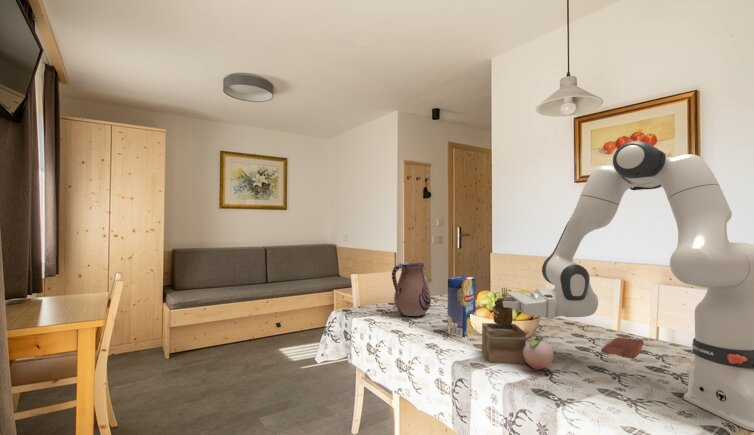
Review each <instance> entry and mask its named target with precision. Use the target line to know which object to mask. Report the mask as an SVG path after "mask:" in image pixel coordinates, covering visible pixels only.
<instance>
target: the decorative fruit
mask: <svg viewBox="0 0 754 435" xmlns="http://www.w3.org/2000/svg"><path fill="white" fill-rule="evenodd" d="M523 355H524V358H525V360H526V363H527V365H528V366H530V367H531V368H532V369H533V370H535V371H539V370H542V369H544V368H546V367H548V366H550V365H551V364H552V362H553V361H554V357H555V356H554V349H553V348H552V346H551V344H549V343H548V342H547V341H545V340H544V339H543V338H540V337H539V336H538V335H536V337H535V338H533V339H530V340H528V341H527V342H526V345H525V347H524V349H523Z"/></svg>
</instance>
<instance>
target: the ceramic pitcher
mask: <svg viewBox="0 0 754 435" xmlns="http://www.w3.org/2000/svg"><path fill="white" fill-rule="evenodd" d="M424 266H425V264H424V263H423V262H410V261H409V262H401V263H399V264H396V265H395V266H394V267H393V269H392V272H391V280H392V284H393V286H394V290H395V291H394V296H393V301H394V305H395V307H396V310H397V311H398V312H399V313H400V315H402V314H403V315H402V316H404V315H406V316H405V317H407V316H419V315H422V316H424V315H425V314H426V313H427V311H428V310H429V308H430V306H431V302H432V300H431V298H432V297H431V292H430V288H429V287H430V286H429V283H428V278H427V277H426V274H425V272H424ZM399 269H401V272H400V276H399V278H398V281H397V272H398V270H399ZM419 317H420V316H419Z"/></svg>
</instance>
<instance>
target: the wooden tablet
mask: <svg viewBox="0 0 754 435" xmlns="http://www.w3.org/2000/svg"><path fill="white" fill-rule="evenodd" d="M643 346H644V341H643V340H641V339H635V338H634V339H632V338H628V339H627V338H626V337H620V336H619V337H615V338H614V339H612V340H611V341H609V342H608V343H606V344H604V346H603V347H602V348H601V353H605V354H609V355H615V356H619V357H621V358H626V359H635V358H636V357H637V356H638V355H639V354H640V352H641V350H642V347H643Z"/></svg>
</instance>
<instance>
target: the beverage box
mask: <svg viewBox="0 0 754 435" xmlns="http://www.w3.org/2000/svg"><path fill="white" fill-rule="evenodd" d="M474 312H475V313H476V277H471V276H462V275H461V276H455V277H450V278H447V335H448V334H452V335H456V336H455V337H457V336H461V337H460V338H462V337H464V338H466V337H467V336H466V335H468V334H470V333H472V332H474V331H475V332H476V329H475V330H474V329H473V327H472V325H471V322H470V314H472V313H474ZM475 332H474V333H475ZM472 334H473V333H472ZM452 335H451V336H452ZM470 335H471V334H470ZM465 336H466V337H465ZM468 336H469V335H468Z"/></svg>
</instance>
